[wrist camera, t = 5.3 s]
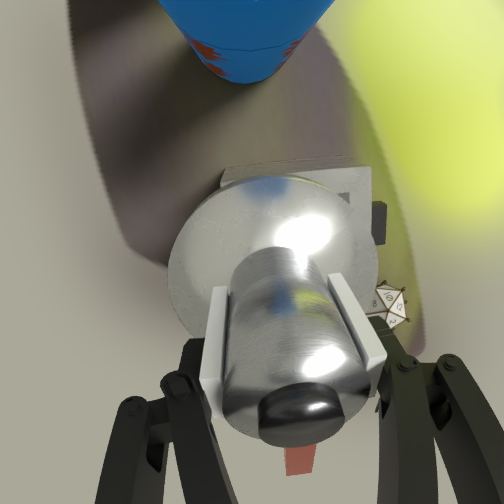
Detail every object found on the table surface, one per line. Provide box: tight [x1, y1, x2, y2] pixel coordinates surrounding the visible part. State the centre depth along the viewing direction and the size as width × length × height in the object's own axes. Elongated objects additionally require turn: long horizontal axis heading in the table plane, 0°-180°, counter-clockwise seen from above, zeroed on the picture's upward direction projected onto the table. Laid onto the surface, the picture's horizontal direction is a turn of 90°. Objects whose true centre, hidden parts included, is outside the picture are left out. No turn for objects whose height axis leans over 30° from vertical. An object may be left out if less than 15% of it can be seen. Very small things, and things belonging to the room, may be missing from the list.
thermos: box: [158, 0, 334, 84], centre depth 17 cm, size 11×11×25 cm
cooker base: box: [220, 155, 387, 246], centre depth 34 cm, size 15×21×9 cm
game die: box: [365, 280, 411, 331], centre depth 40 cm, size 9×8×10 cm
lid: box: [167, 173, 378, 476], centre depth 15 cm, size 13×13×14 cm
